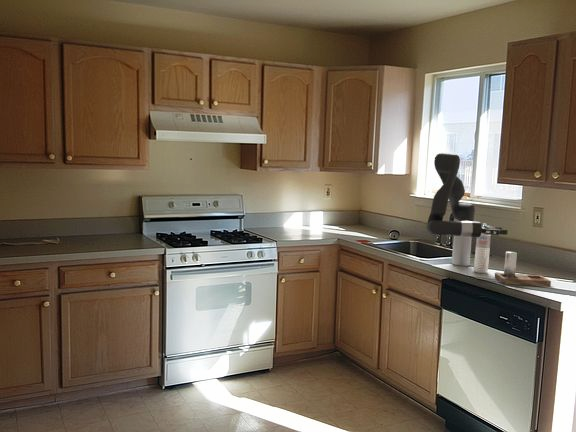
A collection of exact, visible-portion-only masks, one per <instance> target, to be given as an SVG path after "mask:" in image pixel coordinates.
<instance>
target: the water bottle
mask: <svg viewBox="0 0 576 432" xmlns="http://www.w3.org/2000/svg"><path fill="white" fill-rule="evenodd" d="M484 225H486V226H488V225H487V223H482V226H484ZM491 236H492V235H485V234H483V233H481V236H480V237H476V241H475V242H476V243H475V251H474V259H473V261H474V262H473V272H474V273H477V274H487V273H488V271H489V263H490V262H489V261H490V260H489V259H490V251H491V250H490V249H491V248H490V247H491Z"/></svg>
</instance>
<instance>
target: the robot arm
mask: <svg viewBox="0 0 576 432" xmlns="http://www.w3.org/2000/svg"><path fill="white" fill-rule="evenodd" d="M460 158H461V157H460V156H459V155H458V154H456V153H455V154H454V153H444V152H441V153H438V154H436V155H435V157H434V161H433V162H434V168H435V171H436V173H437V174H438V175H437V176H439V178H440V180H441V182H442V185H441V187H440V188H439V189H438V190H437V191H436V192H435V194H434V196H433V199H432V202H431V203H432V204H431V209H430V213H429V216H428V219H427V223H426V231H427V232H428V233H429V234H431V235H435V236H436V235H437V236H453V242H452V243H453V244H452V253H451V254H452V256H451V264H452V265H455V266H461V267H462V266H463V267H468V266H470V265H471V264H470V262H471V252H472V251H471V250H472V240H473V238H477V237H480V236H481V233H483V234H485V235H491V236H499V235H505V236H506V235H508V230H507V229H503V227H502V226H501V227H500V226H494V225H492V226H491V225H487V226H486V225H484V226H483V224H482V222H480V221H474V219H475V213H476V209H475V205H474V204H472V203H468V202H467V203H466V202H465V203H464V202H460V201H461V200H462V198H463V197H464V196H465V193H466V190H465V186H464V183H463V181H462V179H460V177H459V176H457V175H458V172H459V169H460V165H461V164H460V163H461V159H460ZM448 204H450V210H451V213H452V216H453V218H454V220H452V221H451V220H450V221H448V220H443V219H444V216H445V215H446V212H447V208H448Z"/></svg>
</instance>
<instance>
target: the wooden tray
mask: <svg viewBox="0 0 576 432" xmlns="http://www.w3.org/2000/svg"><path fill="white" fill-rule="evenodd" d="M494 279H495V280H497V281H498V282H499V283H501V284H504V285H517V286H519V285H520V286H535V287H536V286H537V287H538V286H539V287H551V285H552V284H551V283H552V281H551V280H550V279H549V278H547V277H545V276H543V275H540V274H523V273H515V278H508V277H504V272H494Z"/></svg>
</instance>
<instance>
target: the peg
mask: <svg viewBox="0 0 576 432" xmlns="http://www.w3.org/2000/svg"><path fill="white" fill-rule="evenodd" d="M517 255H518V252H515V251H508V250H507V251H505V258H504V268H503V269H504V270H503V273H504V277H508V278H515V274H516V268H517V257H518V256H517Z"/></svg>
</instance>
